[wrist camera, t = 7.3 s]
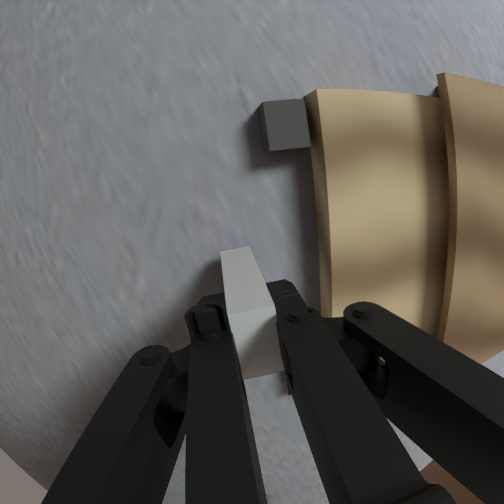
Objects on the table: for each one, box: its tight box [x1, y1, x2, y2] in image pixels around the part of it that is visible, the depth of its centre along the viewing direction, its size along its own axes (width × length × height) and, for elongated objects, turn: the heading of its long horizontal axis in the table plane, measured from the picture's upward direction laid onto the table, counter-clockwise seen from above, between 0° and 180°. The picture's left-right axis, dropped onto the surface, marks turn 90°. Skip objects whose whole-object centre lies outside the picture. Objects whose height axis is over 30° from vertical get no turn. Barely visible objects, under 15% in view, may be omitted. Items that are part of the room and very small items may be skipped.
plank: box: [304, 89, 449, 362], centre depth 17 cm, size 18×9×5 cm, turn 7°
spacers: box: [258, 99, 311, 152], centre depth 17 cm, size 17×2×2 cm, turn 8°
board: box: [437, 73, 504, 364], centre depth 17 cm, size 20×12×4 cm, turn 8°
